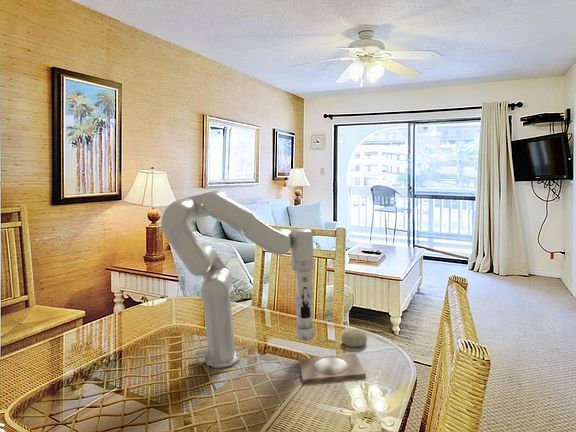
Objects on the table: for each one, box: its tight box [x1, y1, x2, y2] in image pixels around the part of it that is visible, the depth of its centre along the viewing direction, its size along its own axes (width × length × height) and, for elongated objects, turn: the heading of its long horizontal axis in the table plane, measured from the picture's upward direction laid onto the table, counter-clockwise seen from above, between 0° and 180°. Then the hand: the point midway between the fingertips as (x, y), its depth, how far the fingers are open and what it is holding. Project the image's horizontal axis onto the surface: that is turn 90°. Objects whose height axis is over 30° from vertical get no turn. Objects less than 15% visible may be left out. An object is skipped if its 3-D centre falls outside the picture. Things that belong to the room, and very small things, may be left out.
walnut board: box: [298, 353, 367, 384], centre depth 139 cm, size 20×14×1 cm
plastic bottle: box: [294, 293, 316, 342], centre depth 148 cm, size 6×7×20 cm
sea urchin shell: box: [341, 328, 368, 348], centre depth 157 cm, size 9×8×8 cm
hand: (304, 313), depth 148 cm, fingers closed on plastic bottle, 6 cm apart
